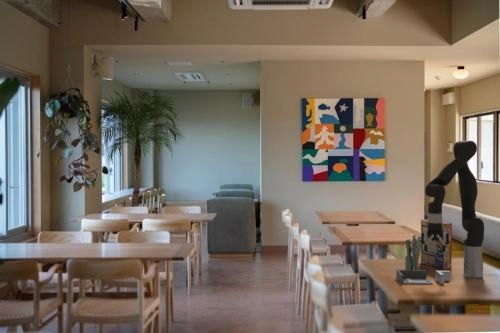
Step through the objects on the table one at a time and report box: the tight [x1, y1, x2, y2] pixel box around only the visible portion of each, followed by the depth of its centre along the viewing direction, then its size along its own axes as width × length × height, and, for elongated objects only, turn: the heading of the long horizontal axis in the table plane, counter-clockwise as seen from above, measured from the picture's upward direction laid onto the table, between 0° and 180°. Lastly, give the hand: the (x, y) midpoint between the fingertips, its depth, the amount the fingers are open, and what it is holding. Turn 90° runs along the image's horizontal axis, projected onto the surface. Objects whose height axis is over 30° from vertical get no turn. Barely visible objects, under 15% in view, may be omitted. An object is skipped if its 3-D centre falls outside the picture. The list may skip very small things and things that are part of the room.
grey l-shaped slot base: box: [395, 269, 433, 286], centre depth 288 cm, size 16×13×5 cm
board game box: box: [420, 219, 453, 270], centre depth 326 cm, size 20×6×27 cm, turn 23°
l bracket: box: [435, 270, 451, 285], centre depth 287 cm, size 9×7×5 cm
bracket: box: [404, 234, 421, 270], centre depth 313 cm, size 28×7×20 cm, turn 152°
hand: (434, 251), depth 288 cm, fingers open, 8 cm apart
